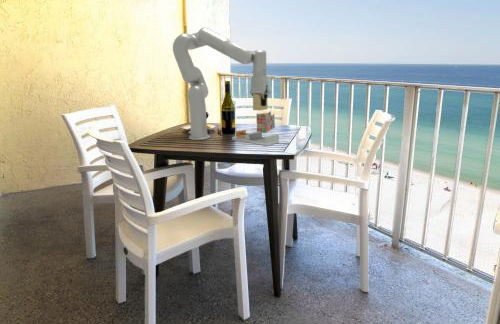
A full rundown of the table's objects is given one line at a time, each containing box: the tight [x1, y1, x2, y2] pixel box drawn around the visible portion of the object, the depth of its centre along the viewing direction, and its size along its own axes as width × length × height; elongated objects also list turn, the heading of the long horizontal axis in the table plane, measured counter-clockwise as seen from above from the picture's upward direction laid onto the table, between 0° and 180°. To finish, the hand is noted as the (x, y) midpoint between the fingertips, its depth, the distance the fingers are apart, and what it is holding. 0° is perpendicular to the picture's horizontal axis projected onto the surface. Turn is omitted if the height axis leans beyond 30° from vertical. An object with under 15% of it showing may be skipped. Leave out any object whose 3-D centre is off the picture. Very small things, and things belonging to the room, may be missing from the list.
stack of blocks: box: [256, 110, 276, 134], centre depth 247 cm, size 21×6×12 cm, turn 161°
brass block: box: [252, 94, 269, 112], centre depth 215 cm, size 5×7×9 cm
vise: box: [231, 134, 280, 147], centre depth 213 cm, size 27×10×4 cm, turn 46°
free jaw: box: [235, 129, 263, 140], centre depth 216 cm, size 13×10×3 cm
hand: (260, 105), depth 216 cm, fingers closed on brass block, 5 cm apart
